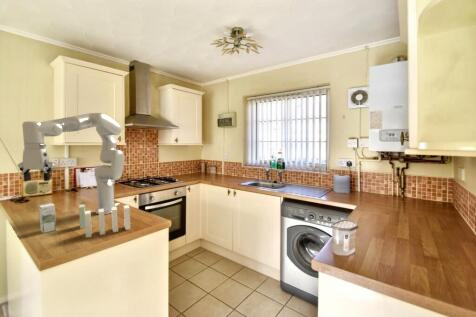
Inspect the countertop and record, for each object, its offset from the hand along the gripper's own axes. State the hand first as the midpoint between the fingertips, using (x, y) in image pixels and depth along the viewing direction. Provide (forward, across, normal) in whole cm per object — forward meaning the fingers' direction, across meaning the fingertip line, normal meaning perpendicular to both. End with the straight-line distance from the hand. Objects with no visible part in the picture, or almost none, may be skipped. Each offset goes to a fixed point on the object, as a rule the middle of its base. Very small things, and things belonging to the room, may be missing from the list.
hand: (37, 180), depth 116 cm
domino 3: (+28, -34, -6) cm, 45 cm away
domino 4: (+28, -40, -9) cm, 50 cm away
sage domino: (+28, -14, -11) cm, 34 cm away
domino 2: (+28, -29, -3) cm, 41 cm away
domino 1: (+28, -24, 0) cm, 37 cm away
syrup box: (+29, +1, -5) cm, 29 cm away
